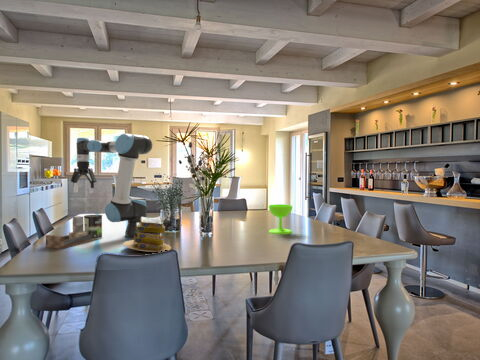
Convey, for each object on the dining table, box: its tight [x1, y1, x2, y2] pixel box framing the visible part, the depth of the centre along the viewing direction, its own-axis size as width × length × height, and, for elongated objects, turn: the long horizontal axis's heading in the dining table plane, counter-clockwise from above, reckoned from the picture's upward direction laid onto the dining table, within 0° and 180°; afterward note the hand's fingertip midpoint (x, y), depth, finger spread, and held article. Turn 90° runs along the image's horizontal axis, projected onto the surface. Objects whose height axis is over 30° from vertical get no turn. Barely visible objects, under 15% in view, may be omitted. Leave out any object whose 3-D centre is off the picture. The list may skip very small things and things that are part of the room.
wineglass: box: [268, 203, 293, 235], centre depth 232 cm, size 16×16×18 cm
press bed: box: [45, 234, 93, 250], centre depth 195 cm, size 12×21×6 cm, turn 158°
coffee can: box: [83, 214, 103, 241], centre depth 211 cm, size 10×10×14 cm
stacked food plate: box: [122, 216, 172, 253], centre depth 183 cm, size 25×25×17 cm
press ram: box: [68, 215, 88, 239], centre depth 200 cm, size 8×7×13 cm
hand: (83, 192), depth 230 cm, fingers open, 13 cm apart
